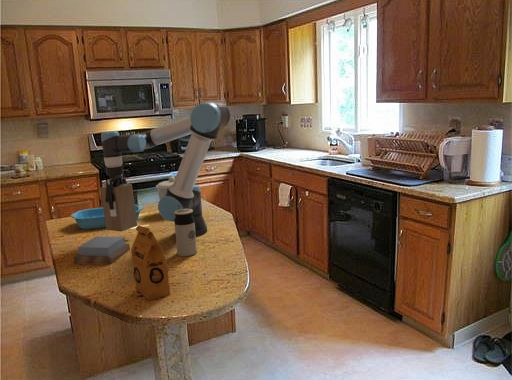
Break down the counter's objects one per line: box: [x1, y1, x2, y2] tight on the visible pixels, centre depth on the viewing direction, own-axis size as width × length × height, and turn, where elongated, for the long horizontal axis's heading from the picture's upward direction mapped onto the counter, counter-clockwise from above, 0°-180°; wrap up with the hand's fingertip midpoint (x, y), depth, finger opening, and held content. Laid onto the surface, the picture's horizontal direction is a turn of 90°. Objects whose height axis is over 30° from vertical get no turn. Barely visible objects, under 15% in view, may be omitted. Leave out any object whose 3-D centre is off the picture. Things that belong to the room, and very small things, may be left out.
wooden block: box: [99, 183, 138, 232], centre depth 193 cm, size 10×10×20 cm
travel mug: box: [173, 209, 198, 257], centre depth 171 cm, size 8×8×18 cm
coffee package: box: [130, 224, 171, 301], centre depth 136 cm, size 10×12×22 cm
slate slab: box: [77, 236, 126, 256], centre depth 173 cm, size 13×13×4 cm
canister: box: [155, 175, 176, 200], centre depth 237 cm, size 18×18×21 cm
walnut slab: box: [73, 242, 131, 265], centre depth 174 cm, size 16×16×4 cm
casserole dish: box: [70, 204, 145, 230], centre depth 225 cm, size 37×22×7 cm, turn 109°
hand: (120, 212), depth 193 cm, fingers closed on wooden block, 12 cm apart
